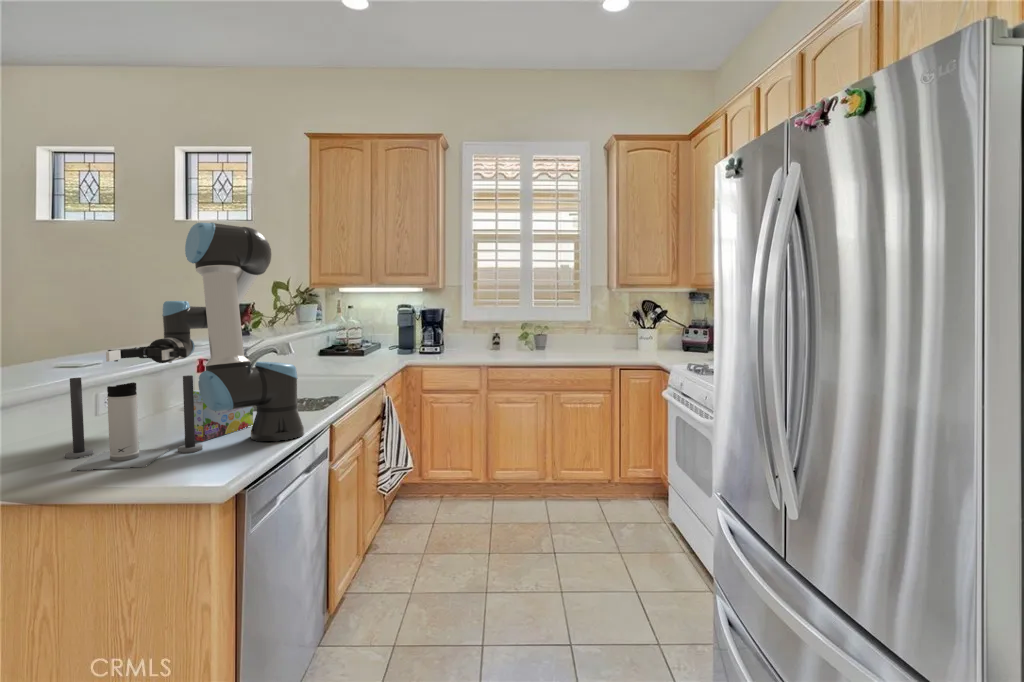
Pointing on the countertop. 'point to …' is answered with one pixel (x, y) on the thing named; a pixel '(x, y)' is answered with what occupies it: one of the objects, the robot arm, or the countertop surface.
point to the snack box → (218, 420)
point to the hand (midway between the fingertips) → (135, 356)
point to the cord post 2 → (189, 417)
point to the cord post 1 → (77, 421)
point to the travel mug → (123, 422)
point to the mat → (105, 463)
